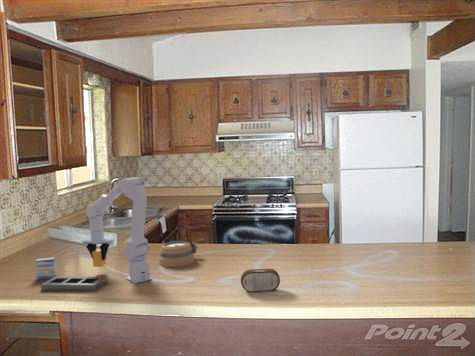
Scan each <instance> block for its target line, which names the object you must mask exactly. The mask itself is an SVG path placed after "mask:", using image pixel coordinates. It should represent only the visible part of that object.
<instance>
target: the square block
mask: <svg viewBox="0 0 475 356" xmlns="http://www.w3.org/2000/svg"><path fill="white" fill-rule="evenodd" d="M92 254H93V259H92V262H93V263H92V265H93V268H99V267H100V268H102V267H104V266H105V265H106V264H107V262H106V260H107V258H106V259H105V260H102V255H101V250H100V248H98V249H97V248H96V250H94V251H93V252H92Z"/></svg>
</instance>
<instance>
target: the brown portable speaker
mask: <svg viewBox="0 0 475 356" xmlns="http://www.w3.org/2000/svg"><path fill="white" fill-rule="evenodd" d="M280 277H281V276H280V275H279V273H278V271H276V270H275V269H273V268H258V269H256V268H255V269H247V270H245V271H244V272H242V275H241V276H240V283H241V287H242V289H243V290H245V291H246V292H247V293H248V292H249V293H259V292H262V293H264V292H265V293H266V292H273V291H275V290H276V289H278V287H279V286H280V283H281V278H280Z"/></svg>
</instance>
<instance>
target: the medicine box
mask: <svg viewBox="0 0 475 356" xmlns="http://www.w3.org/2000/svg"><path fill="white" fill-rule="evenodd" d="M35 270H36V280H37V281H40V280H41V281H42V280H50V279H52V278H53V277H58V268H57V257H56V256H54V257H44V258H43V257H42V258H38V259H36V260H35Z"/></svg>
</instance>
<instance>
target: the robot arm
mask: <svg viewBox="0 0 475 356" xmlns="http://www.w3.org/2000/svg"><path fill="white" fill-rule="evenodd" d="M146 192H147V191H146V182H145V181H144V179H143V178H142V177H140V176H135V177H128V178H121V179H120V180H119V181H118V182H117V183H116V185H115V186H114V187H113V188H112V189H111V190H110V192H108V193H107V194H101V195H99V198H98V199H97V200H95V201H93V204H88V205H87V207H86V208H85V214H86V215H85V216H86V217H88V220H89V222H88V223H89V232H90V239H89V238H88V239H83V240H81V245H82V246H84V245H86V246H85V247H86V249H87V251H88V252H89V253H90V257H91V259H92V260H93V254H92V252H93V251H94V250H96V249H97V246H98V245H99V249H100V250H101V255H102V260H105V259H106V260H107V255H108V254H107V253H108V249H109V247H110V245H114V243H115V242H114V238H113V239H111V238H105V233H104V232H105V231H104V221H103V220H104V215H105V213H106V211H107V210H108V209H109V208H110V207H111V206H112V205H113V204H114V200H115V199H117V198H118V197H119V196H120V195H122V194H123V195H124V196H126V197H127V198H129V199H130V200H131V201H132V213H131V214H132V215H131V226H130V227H131V228H130V237H129V239H127V240H126V245H125V247H124V250H123V254H124V257H125V258H126V260H127V261H128V271H129V276H126V279H127V280H128V281H130V282H132V283H133V284H138V283H143V282H147V281H151V280H152V279H153V277H151V273H150V265H149V263H148V261H147V254H148V253H149V251H150V249H149V247H150V246H149V244H148V242H149V241H148V239H147V238H146V237H145V226H146V225H145V224H146V215H147V213H146V212H147V201H148V198H147V197H148V196H147V193H146Z"/></svg>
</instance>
